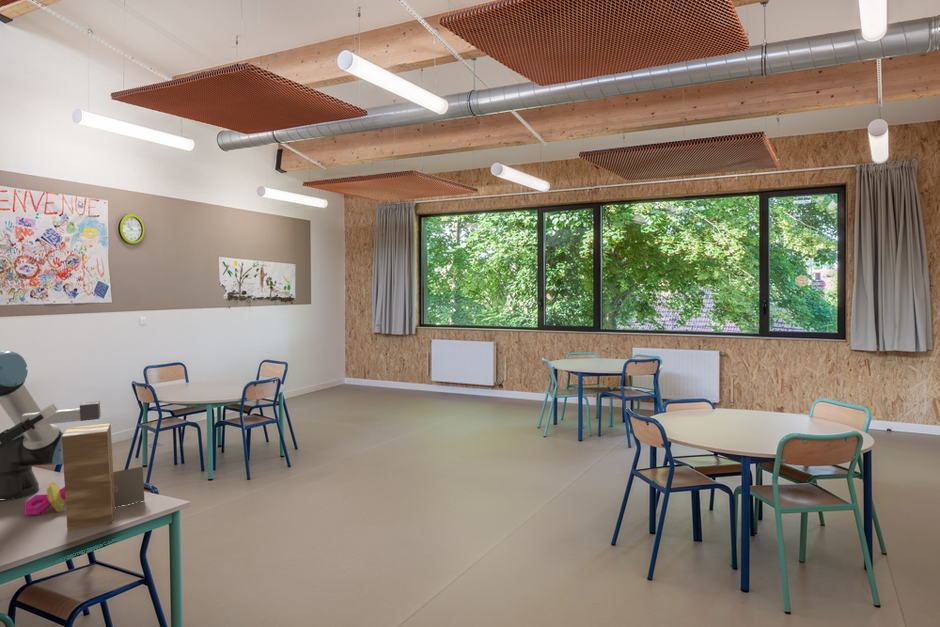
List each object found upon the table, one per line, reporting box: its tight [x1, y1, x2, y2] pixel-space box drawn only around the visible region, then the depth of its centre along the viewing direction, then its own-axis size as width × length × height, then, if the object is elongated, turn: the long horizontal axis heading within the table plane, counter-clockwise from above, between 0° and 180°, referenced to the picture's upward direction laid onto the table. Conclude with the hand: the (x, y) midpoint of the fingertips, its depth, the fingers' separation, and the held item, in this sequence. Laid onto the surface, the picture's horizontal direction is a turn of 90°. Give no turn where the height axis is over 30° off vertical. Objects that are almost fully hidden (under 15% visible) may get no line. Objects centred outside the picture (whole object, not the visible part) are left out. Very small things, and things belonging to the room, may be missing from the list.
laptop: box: [113, 466, 145, 507], centre depth 209 cm, size 18×12×13 cm
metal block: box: [22, 400, 102, 426], centre depth 186 cm, size 5×20×5 cm, turn 118°
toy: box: [24, 481, 66, 516], centre depth 204 cm, size 10×18×10 cm
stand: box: [62, 422, 116, 532], centre depth 193 cm, size 13×12×30 cm
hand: (54, 408), depth 185 cm, fingers closed on metal block, 3 cm apart
